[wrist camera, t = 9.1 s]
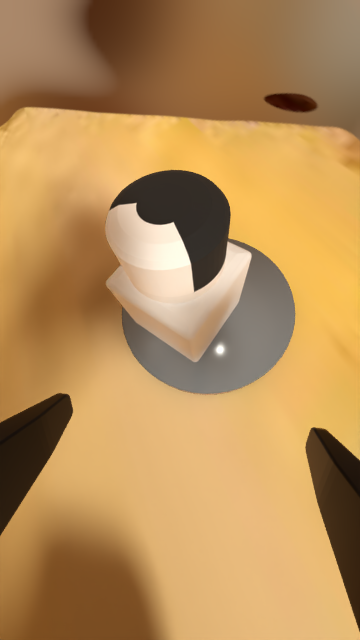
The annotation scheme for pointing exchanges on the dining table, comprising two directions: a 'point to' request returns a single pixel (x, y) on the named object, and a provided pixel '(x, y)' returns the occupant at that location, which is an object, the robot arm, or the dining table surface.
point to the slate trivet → (227, 337)
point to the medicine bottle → (176, 258)
